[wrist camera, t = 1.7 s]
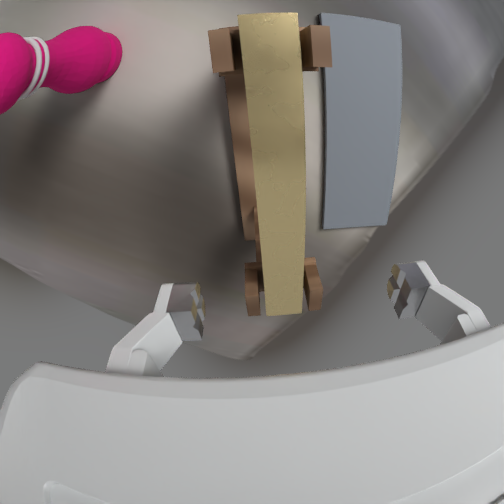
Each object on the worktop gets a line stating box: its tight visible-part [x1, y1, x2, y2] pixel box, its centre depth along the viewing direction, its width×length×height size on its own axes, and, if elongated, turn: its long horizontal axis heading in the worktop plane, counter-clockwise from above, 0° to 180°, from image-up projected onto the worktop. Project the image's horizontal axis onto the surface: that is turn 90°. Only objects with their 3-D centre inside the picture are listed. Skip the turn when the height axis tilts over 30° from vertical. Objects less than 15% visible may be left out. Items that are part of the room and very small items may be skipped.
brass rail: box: [238, 13, 306, 316], centre depth 18 cm, size 22×3×2 cm, turn 5°
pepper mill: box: [0, 26, 122, 114], centre depth 13 cm, size 7×7×20 cm
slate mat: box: [319, 13, 402, 229], centre depth 27 cm, size 26×9×1 cm, turn 5°
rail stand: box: [208, 25, 332, 316], centre depth 22 cm, size 25×7×15 cm, turn 5°
